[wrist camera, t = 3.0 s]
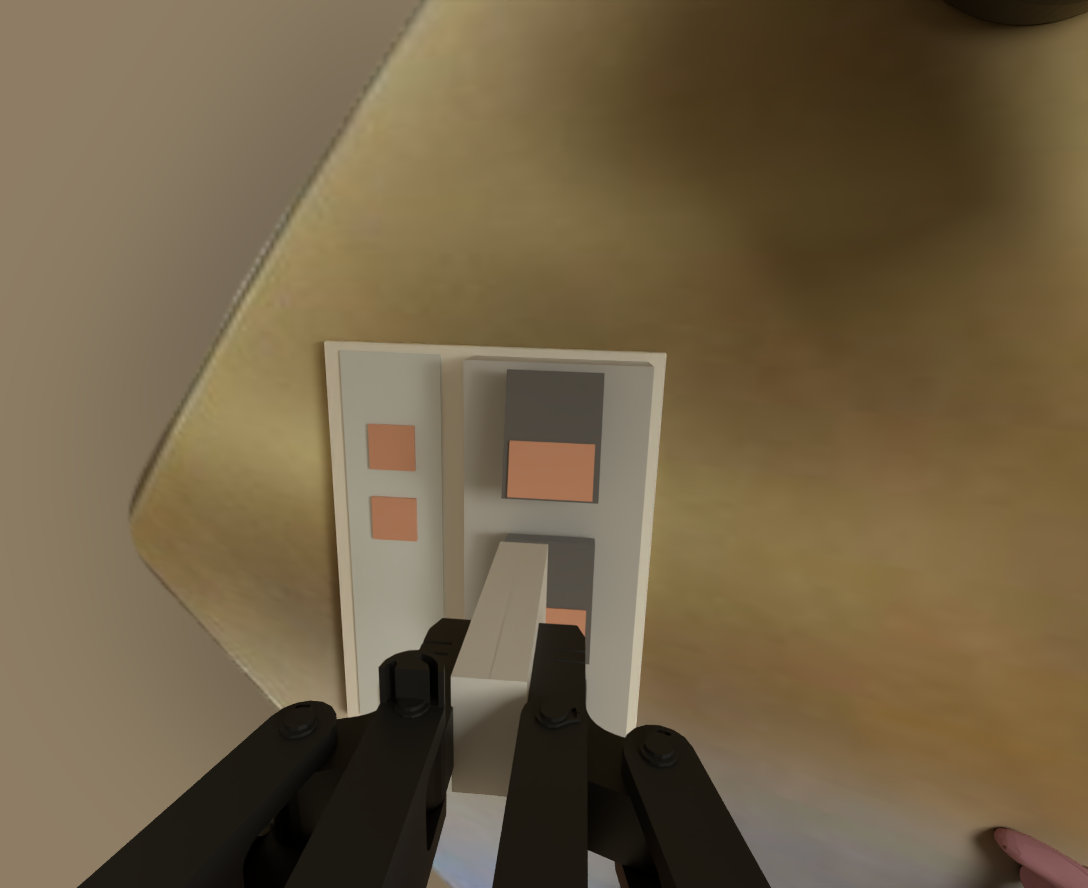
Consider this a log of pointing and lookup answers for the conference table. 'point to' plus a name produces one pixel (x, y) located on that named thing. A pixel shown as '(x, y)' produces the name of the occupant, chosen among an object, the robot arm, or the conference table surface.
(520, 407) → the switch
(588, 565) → the middle switch
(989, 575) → the conference table surface
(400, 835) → the robot arm
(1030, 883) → the video game controller
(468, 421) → the switch panel
